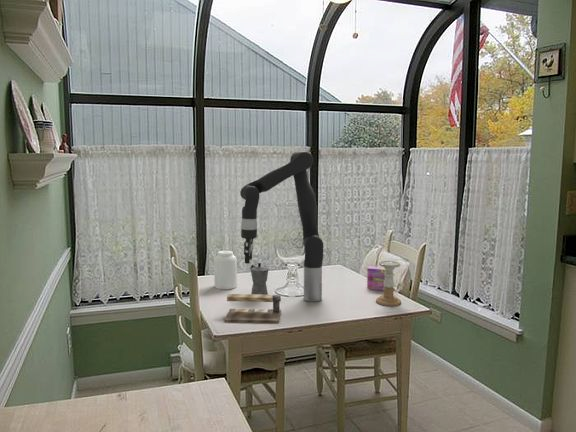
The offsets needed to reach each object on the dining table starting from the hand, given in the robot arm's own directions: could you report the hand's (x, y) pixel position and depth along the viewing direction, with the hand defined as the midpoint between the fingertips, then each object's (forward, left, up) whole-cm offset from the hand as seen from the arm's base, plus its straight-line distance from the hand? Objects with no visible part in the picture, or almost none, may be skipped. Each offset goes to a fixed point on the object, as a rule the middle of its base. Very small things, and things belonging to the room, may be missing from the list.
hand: (248, 261), depth 232 cm
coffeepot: (-3, -17, -23) cm, 29 cm away
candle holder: (-69, -11, -23) cm, 74 cm away
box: (-67, -36, -23) cm, 80 cm away
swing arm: (-4, +10, -16) cm, 19 cm away
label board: (-4, +14, -23) cm, 27 cm away
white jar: (+17, -34, -23) cm, 45 cm away
